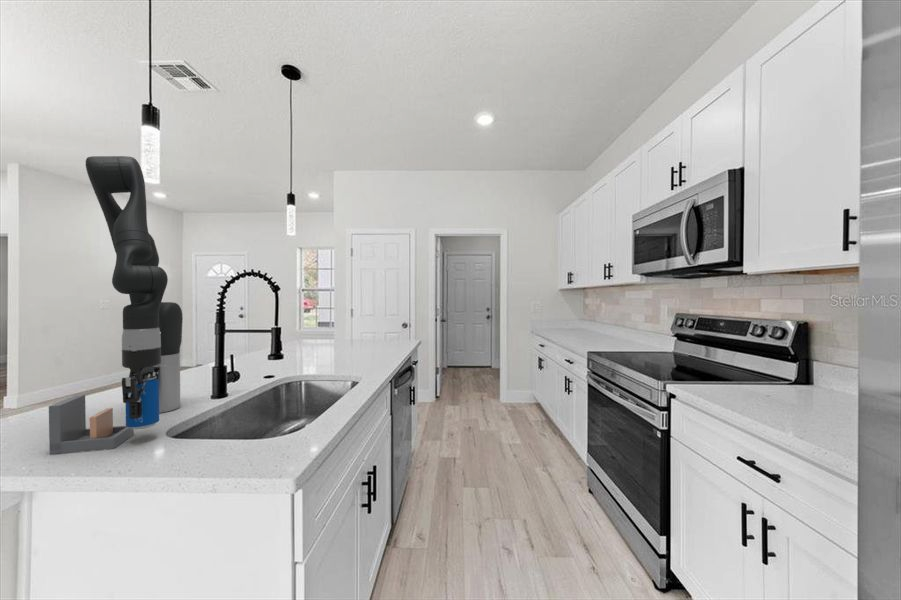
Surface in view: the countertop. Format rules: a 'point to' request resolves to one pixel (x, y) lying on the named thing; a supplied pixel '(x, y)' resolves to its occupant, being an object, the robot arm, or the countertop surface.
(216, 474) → the countertop surface
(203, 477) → the countertop surface
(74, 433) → the grey bracket
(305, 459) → the countertop surface
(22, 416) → the countertop surface
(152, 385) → the beverage can
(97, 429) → the thin tan plate
